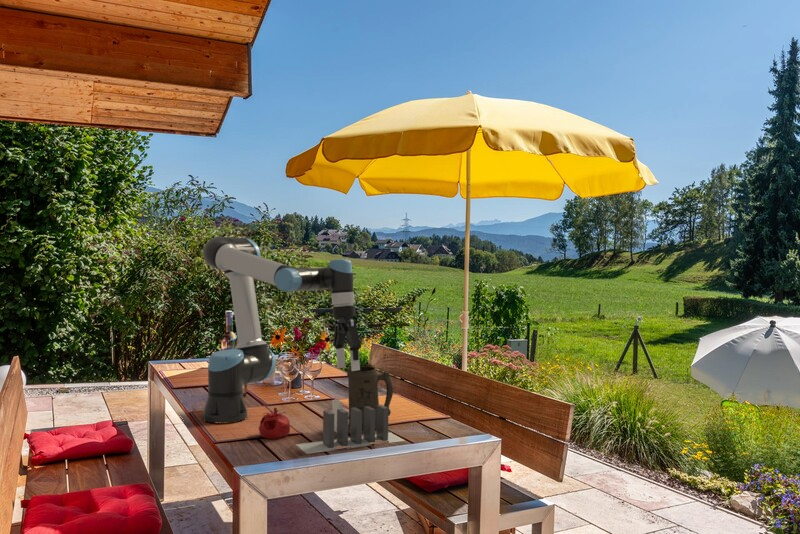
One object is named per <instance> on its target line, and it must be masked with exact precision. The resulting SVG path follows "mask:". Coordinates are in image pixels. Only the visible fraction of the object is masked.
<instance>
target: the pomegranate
mask: <svg viewBox="0 0 800 534" xmlns="http://www.w3.org/2000/svg"><path fill="white" fill-rule="evenodd" d="M279 412H280V410H279V409H278V408H277V407H274V408H273V411H272V410H269V412H264V413H263V416H262V418H261V420H260V423H259V426H258V431H259V436H261V437H262V438H264V439H268V440H278V439H279V440H280V439H282V438H286V437H287V436H289V434H290V430H291V424H290V419H289V418H288V417H287V416H286V415H284V414H286V412H285V411H284V412H280V413H279Z"/></svg>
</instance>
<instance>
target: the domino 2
mask: <svg viewBox="0 0 800 534" xmlns="http://www.w3.org/2000/svg"><path fill="white" fill-rule="evenodd" d="M331 402H332V403H331V405H332V406H331V408H332V409H331V412H332V413H334V433H337V409H343V410H344V405H343V404H344V403H343V402H342V401H340V400H339V399H332V401H331Z"/></svg>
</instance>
